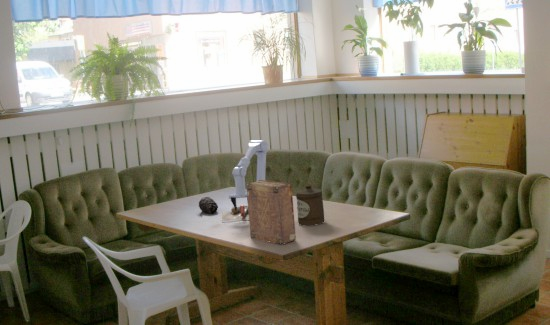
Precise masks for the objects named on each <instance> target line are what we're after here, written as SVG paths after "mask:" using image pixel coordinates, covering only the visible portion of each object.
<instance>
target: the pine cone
mask: <svg viewBox="0 0 550 325" xmlns="http://www.w3.org/2000/svg"><path fill="white" fill-rule="evenodd" d="M198 207H199V210H200V211H201V214H203V213H204V214H209V215H210V214H212V215H213V214H216V212H218V208H219V205H218V203H217V202H216V201H215V200H214V199H213V198H211V197H209V196H204V197H202V198H201V199H200V200H199V202H198Z"/></svg>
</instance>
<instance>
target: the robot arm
mask: <svg viewBox="0 0 550 325" xmlns="http://www.w3.org/2000/svg"><path fill="white" fill-rule="evenodd" d="M247 145H248V149H247V151H246V153H245V155H244V157H241V158H240V160H239V161H238V164H237V165H236V166H235V167H234V168H233V169H232V173H231V174H232V176H233V179H234V183H235V184H234V186H235V193H236V194H229V195H228V199H229V200H230V202H231V203H232V205H233V207H234V208H235V211H236V210H237V207H238V206H237V199H238V198H239V199H240V198H243V199H245V198H247V190H246V181H245V180H246V179H245V177H246V175H247V171H248V167H249V166H250V163H251V161H250V160H251V159H252V158H253V156H254V155H256V157H257V158H256V159H257V160H256V180H255V182H257V181H258V180H266V170H267V169H266V164H267V163H266V162H267V153H268V143H267V141H266V140H265V139H262V140H261V139H260V140H256V139H255V140H254V139H251V140H249V142H248V144H247ZM246 201H247V200H246ZM247 203H248V201H247Z"/></svg>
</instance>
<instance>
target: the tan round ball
mask: <svg viewBox="0 0 550 325" xmlns="http://www.w3.org/2000/svg"><path fill="white" fill-rule="evenodd" d="M231 211H232V213H235V214H236V213H237V212H238V209H237V210H236V211H235V208H234V206H232V208H231V210H230V212H231Z"/></svg>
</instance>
